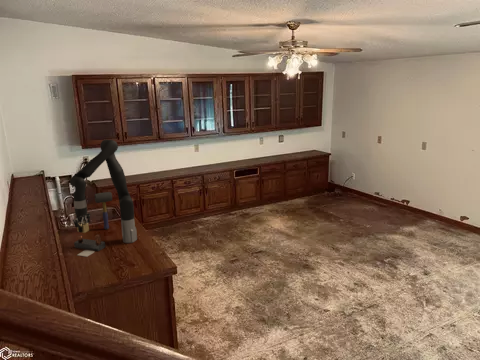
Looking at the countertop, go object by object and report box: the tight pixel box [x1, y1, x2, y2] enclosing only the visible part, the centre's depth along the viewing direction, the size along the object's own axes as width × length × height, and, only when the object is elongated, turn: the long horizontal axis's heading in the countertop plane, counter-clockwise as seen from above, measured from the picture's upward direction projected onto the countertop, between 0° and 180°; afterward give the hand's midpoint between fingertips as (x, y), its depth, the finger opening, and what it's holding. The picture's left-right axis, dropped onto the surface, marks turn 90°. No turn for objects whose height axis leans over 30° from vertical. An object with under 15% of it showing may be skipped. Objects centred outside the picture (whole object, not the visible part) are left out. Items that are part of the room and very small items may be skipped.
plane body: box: [73, 234, 106, 252], centre depth 256 cm, size 20×7×10 cm, turn 73°
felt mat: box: [77, 249, 96, 258], centre depth 248 cm, size 8×8×1 cm
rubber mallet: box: [94, 191, 113, 230], centre depth 286 cm, size 12×8×30 cm, turn 117°
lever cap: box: [76, 222, 90, 234], centre depth 243 cm, size 6×4×6 cm
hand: (83, 230), depth 244 cm, fingers closed on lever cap, 4 cm apart
